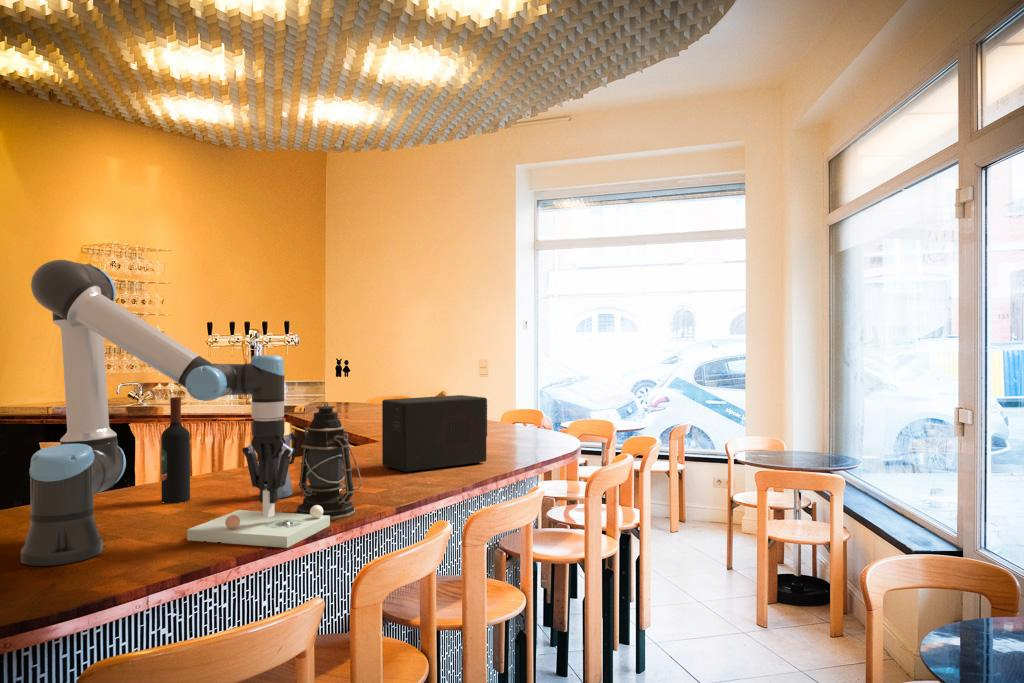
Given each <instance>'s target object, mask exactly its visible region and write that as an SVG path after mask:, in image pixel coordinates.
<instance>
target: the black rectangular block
mask: <svg viewBox="0 0 1024 683" xmlns="http://www.w3.org/2000/svg"><path fill="white" fill-rule="evenodd" d="M381 406H382V407H381V408H382V412H381V413H382V415H381V417H382V419H381V420H382V424H381V428H382V429H381V430H382V434H381V436H382V440H381V441H382V442H381V444H382V445H381V446H382V448H381V450H382V454H381V455H382V456H381V458H382V460H381V461H382V464H381V465H383V466H384V467H387V468H388V467H389V469H394V470H399V471H402V472H405V474H412V473H413V471H422V470H429V469H438V468H445V467H453V466H459V465H460V466H462V465H468V464H469V465H470V464H472V465H480V463H484V462H486V461H487V437H488V399H487V398H486V397H483V396H473V395H463V394H460V395H459V394H455V395H440V396H423V397H422V396H421V397H407V398H406V397H405V398H391V399H390V398H389V399H388V398H387V399H383V400H382V404H381Z"/></svg>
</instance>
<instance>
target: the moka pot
mask: <svg viewBox="0 0 1024 683" xmlns="http://www.w3.org/2000/svg"><path fill="white" fill-rule="evenodd" d="M284 440H285V444H286V445H287V446H288V447H290V448H291V442H292V441H291V440H293V441H294V443H293V447H292V448H294V453H293V454H292V456H291V458H290V463H289V466H290V465H293V464H294V463H295V458H296V454H297V449H298V448H297V447H298V445H299V439H298V438H297V436H296V435H295V433H293V432H291V433H289V434H284ZM281 452H282V451H281ZM281 452H280V454H279V460H278V469H279V465H280V460H281V457H282V454H281ZM292 487H293V486H292V481H291V475H290V472H289V470H288V472H287V477H286V482H285V485H284V486H282V487H280V488H278V489H277V500H278V499H283V498H287V497H289V496H292V495H293V488H292Z"/></svg>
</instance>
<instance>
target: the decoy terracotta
mask: <svg viewBox="0 0 1024 683" xmlns="http://www.w3.org/2000/svg"><path fill="white" fill-rule="evenodd" d="M225 524H226V526H227V527H228V528H229V529H235V528H237V527H238V526H239V524H240V519H239V517H238V516H236V515H231V516H229V517H228V518H227V519H226V522H225Z"/></svg>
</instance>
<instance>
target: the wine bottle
mask: <svg viewBox="0 0 1024 683" xmlns="http://www.w3.org/2000/svg"><path fill="white" fill-rule="evenodd" d="M169 403H170V408H169V409H170V413H169V414H170V423H169V426H168V427H167V428H165V429H164V430H163V432H162V433H161V435H160V436H161V437H160V438H161V440H160V442H161V443H160V444H161V448H160V449H161V450H160V451H161V454H160V455H161V456H160V458H161V459H160V460H161V461H160V463H161V464H160V466H161V471H160V472H161V476H160V477H161V484H160V486H161V488H160V489H161V496H160V497H161V501H162V502H164V503H163V504H165V503H176V504H180V503H179V502H183V503H186V502H185V501H187V502H189V501H188V500H191V434H190V432H189V431H190V430H188V429H187V428H186V427H185V426H183V424H182V397H180V396H179V397H178V396H177V397H176V396H173V397H170V400H169ZM162 502H161V503H162Z"/></svg>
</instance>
